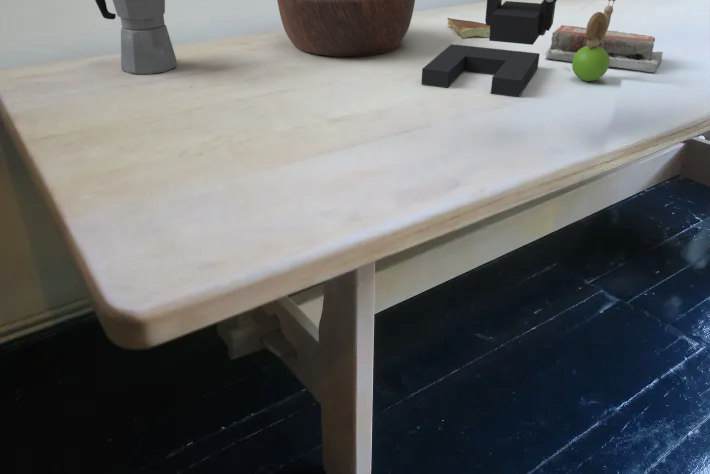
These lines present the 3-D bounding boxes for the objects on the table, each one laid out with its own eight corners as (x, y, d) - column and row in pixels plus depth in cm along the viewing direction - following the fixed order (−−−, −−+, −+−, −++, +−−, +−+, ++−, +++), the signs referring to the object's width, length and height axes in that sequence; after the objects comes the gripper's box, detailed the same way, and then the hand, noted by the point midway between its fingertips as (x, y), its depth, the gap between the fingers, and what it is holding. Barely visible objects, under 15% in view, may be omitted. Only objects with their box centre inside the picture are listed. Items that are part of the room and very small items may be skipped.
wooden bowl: (441, 48, 121) (445, -11, 115) (325, 70, 108) (323, 5, 103) (363, 22, 138) (363, -30, 133) (255, 39, 126) (251, -18, 121)
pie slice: (446, 25, 137) (447, 16, 136) (483, 24, 137) (483, 15, 136) (459, 38, 127) (460, 28, 126) (498, 37, 128) (499, 27, 127)
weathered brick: (548, 31, 112) (561, 19, 120) (543, 60, 114) (557, 47, 122) (662, 44, 105) (668, 31, 112) (655, 74, 107) (662, 59, 115)
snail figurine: (614, 78, 105) (630, -1, 99) (595, 87, 101) (611, 6, 95) (582, 71, 108) (596, -6, 102) (563, 80, 104) (576, 0, 98)
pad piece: (543, 29, 81) (547, 3, 80) (532, 44, 75) (536, 17, 73) (503, 25, 83) (505, 0, 81) (489, 40, 77) (491, 14, 75)
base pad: (537, 68, 110) (539, 53, 109) (518, 97, 97) (521, 80, 96) (450, 58, 115) (451, 44, 114) (421, 84, 102) (422, 68, 101)
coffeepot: (198, 61, 113) (185, -53, 104) (173, 77, 105) (156, -45, 96) (117, 55, 116) (97, -56, 107) (86, 71, 108) (61, -49, 99)
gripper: (461, -132, 70) (450, 33, 78) (604, -131, 65) (576, 45, 73) (478, -133, 76) (466, 20, 84) (610, -133, 71) (583, 30, 79)
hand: (517, 31), depth 79 cm, fingers closed on pad piece, 5 cm apart
